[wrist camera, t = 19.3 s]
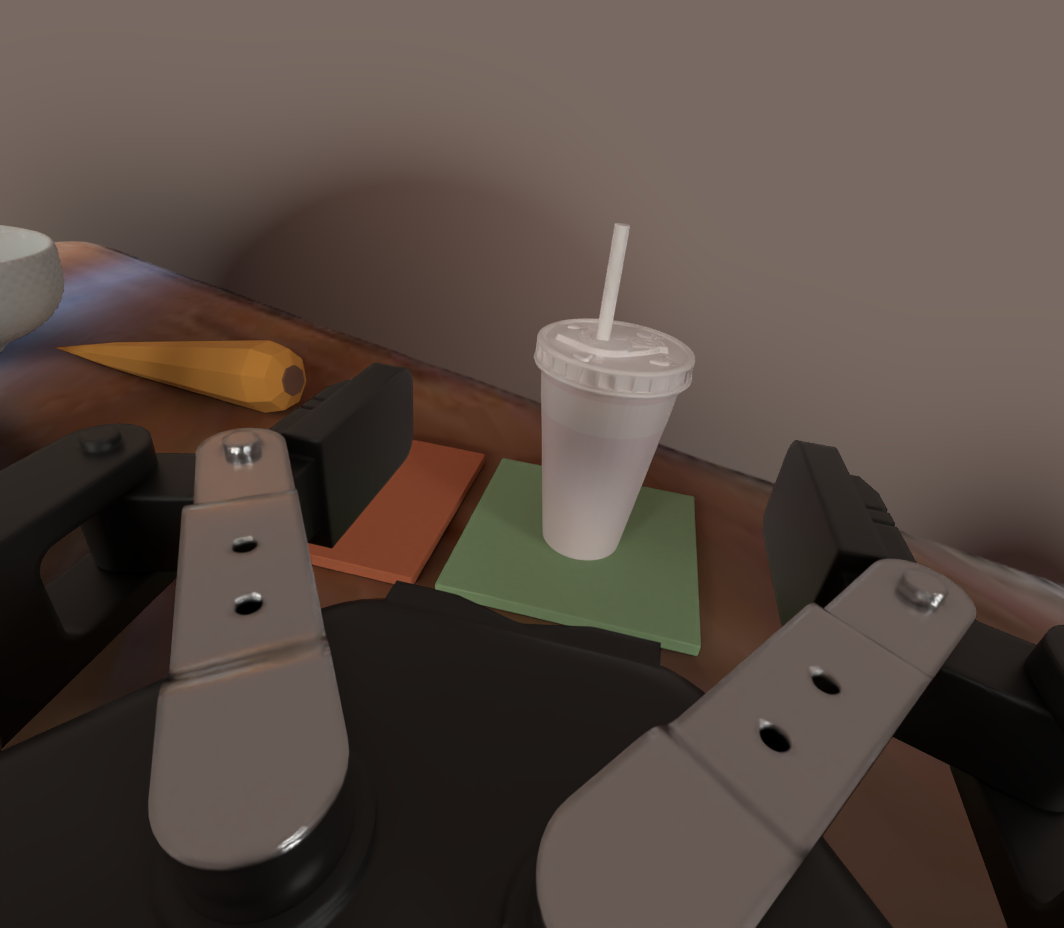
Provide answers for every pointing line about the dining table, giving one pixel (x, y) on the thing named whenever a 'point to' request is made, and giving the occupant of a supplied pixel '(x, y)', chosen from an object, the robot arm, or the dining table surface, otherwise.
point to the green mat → (581, 564)
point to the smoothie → (602, 417)
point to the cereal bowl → (27, 282)
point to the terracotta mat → (405, 516)
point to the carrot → (211, 368)
